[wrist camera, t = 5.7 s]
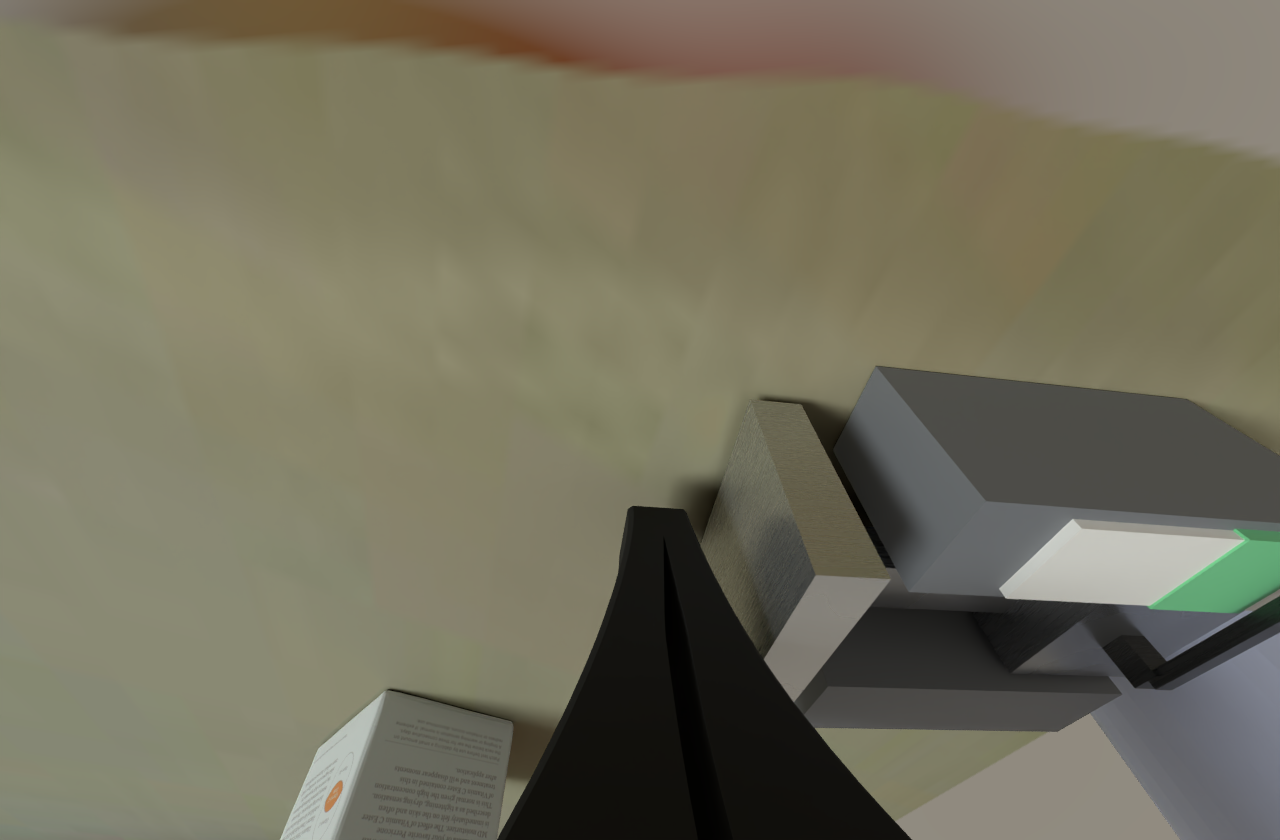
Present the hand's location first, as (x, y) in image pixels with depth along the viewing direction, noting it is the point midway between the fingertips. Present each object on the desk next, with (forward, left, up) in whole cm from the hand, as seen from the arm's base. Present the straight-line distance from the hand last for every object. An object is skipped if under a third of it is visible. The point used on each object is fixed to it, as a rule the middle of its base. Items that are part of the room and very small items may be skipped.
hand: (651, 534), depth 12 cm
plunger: (-7, 0, -1) cm, 7 cm away
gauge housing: (-8, 0, -1) cm, 9 cm away
